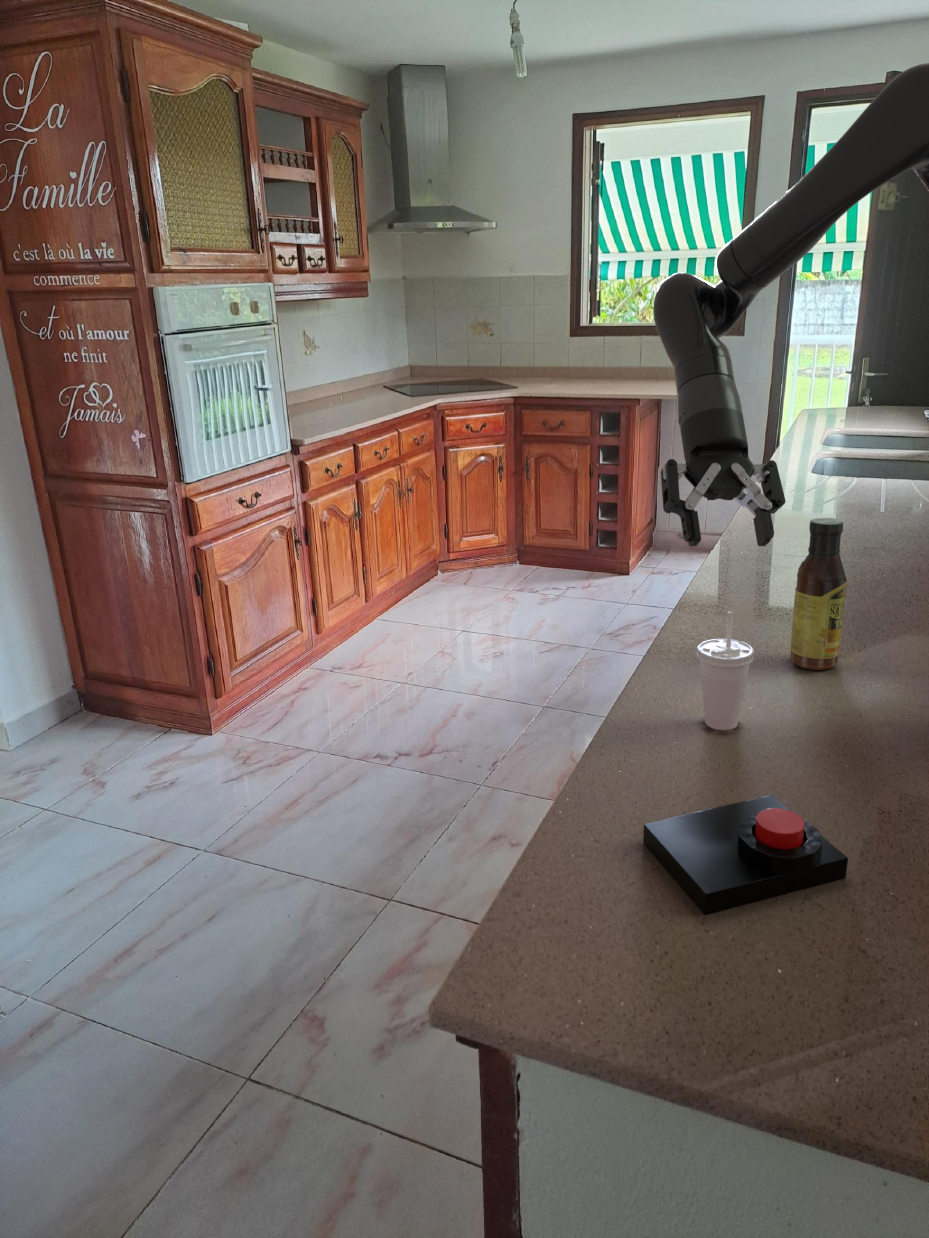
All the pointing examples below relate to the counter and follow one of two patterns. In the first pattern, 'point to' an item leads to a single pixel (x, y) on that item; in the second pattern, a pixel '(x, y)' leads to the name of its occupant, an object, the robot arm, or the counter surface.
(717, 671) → the smoothie
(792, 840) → the timer button
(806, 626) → the sauce bottle
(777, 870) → the push button box
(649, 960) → the counter surface
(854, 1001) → the counter surface
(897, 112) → the robot arm
